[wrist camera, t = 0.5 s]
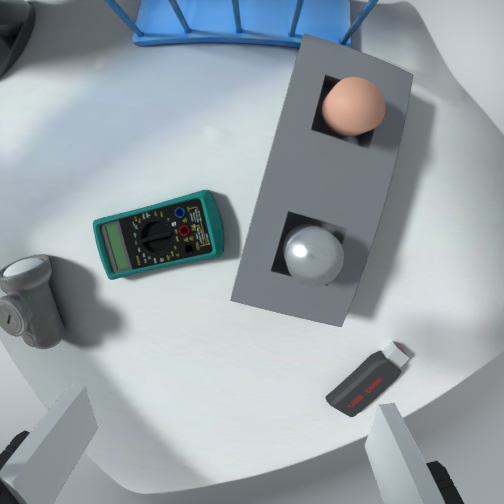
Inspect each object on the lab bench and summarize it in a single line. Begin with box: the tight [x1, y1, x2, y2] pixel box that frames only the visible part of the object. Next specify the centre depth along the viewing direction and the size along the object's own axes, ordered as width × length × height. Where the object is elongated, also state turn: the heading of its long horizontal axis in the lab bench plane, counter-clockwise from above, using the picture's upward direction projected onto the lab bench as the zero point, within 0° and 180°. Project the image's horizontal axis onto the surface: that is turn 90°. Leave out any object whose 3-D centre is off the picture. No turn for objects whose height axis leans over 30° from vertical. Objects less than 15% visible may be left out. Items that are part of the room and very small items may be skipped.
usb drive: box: [326, 341, 410, 417], centre depth 38 cm, size 5×12×3 cm, turn 141°
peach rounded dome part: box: [322, 77, 385, 137], centre depth 25 cm, size 5×5×4 cm
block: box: [230, 33, 413, 327], centre depth 31 cm, size 28×12×5 cm, turn 165°
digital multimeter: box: [93, 190, 224, 280], centre depth 34 cm, size 7×15×3 cm, turn 102°
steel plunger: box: [283, 223, 344, 287], centre depth 28 cm, size 5×5×4 cm
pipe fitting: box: [0, 255, 65, 349], centre depth 33 cm, size 12×8×10 cm
